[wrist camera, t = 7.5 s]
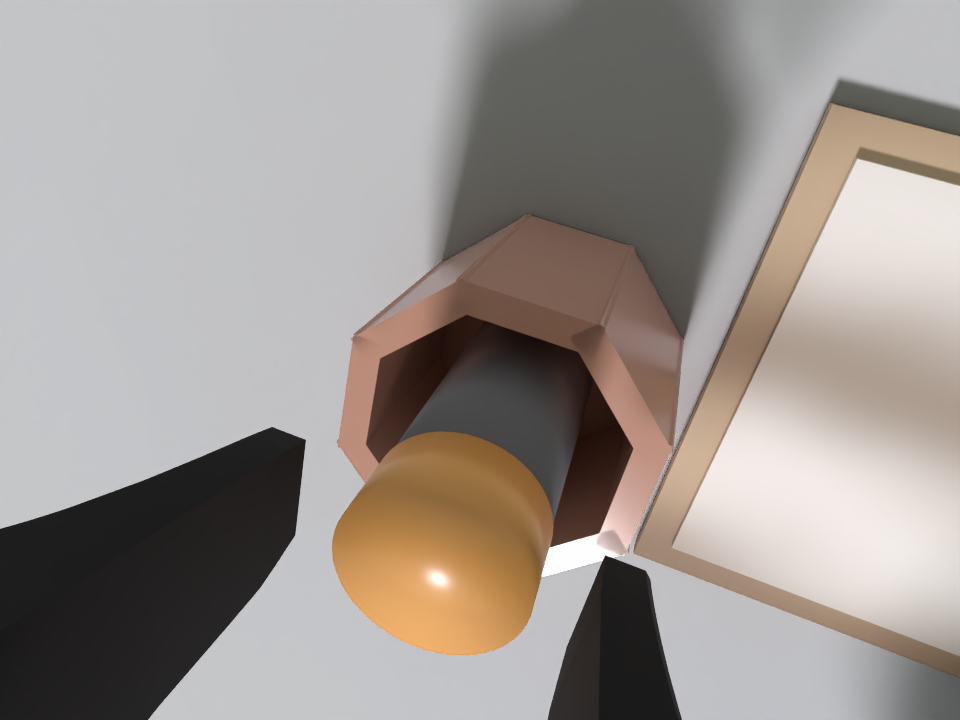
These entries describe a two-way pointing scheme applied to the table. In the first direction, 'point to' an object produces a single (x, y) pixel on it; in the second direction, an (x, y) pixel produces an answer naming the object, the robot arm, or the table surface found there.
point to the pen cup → (550, 317)
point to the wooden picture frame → (838, 403)
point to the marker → (468, 498)
